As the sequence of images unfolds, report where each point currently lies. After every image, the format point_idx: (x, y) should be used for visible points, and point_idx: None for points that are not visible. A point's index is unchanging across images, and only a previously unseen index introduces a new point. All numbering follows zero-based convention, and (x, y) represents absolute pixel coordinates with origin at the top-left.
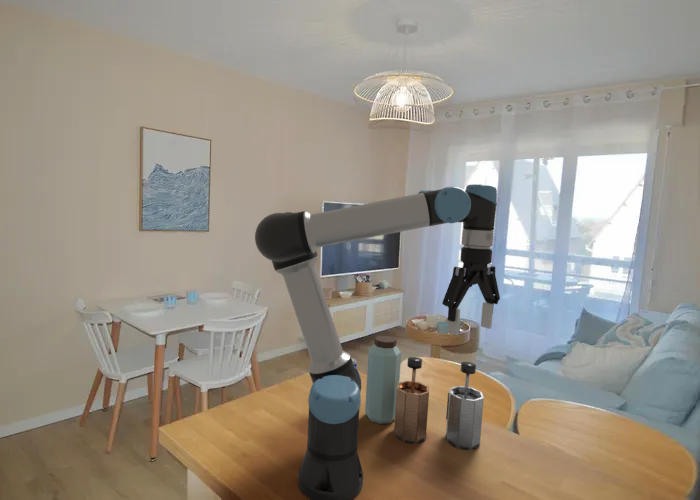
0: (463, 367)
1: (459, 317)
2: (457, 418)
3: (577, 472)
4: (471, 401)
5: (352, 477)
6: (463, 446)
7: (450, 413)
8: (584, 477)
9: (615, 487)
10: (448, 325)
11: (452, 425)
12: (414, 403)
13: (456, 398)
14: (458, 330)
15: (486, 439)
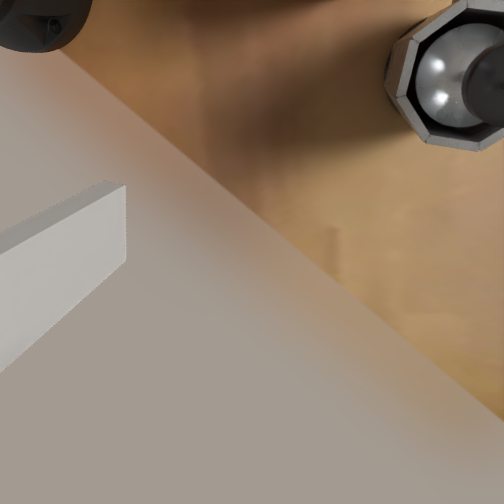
0: (470, 76)
1: (46, 329)
2: (391, 83)
3: (497, 328)
4: (416, 131)
5: (14, 43)
6: (391, 102)
7: (400, 48)
8: (486, 341)
9: (492, 387)
10: (72, 199)
11: (393, 63)
12: None
13: (400, 74)
14: (109, 274)
15: None
